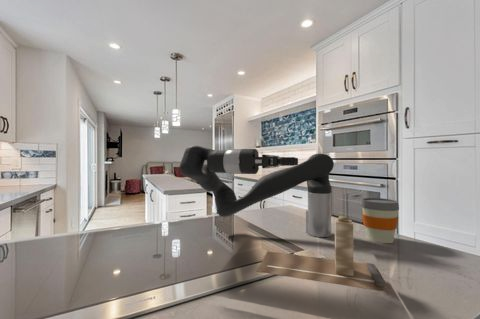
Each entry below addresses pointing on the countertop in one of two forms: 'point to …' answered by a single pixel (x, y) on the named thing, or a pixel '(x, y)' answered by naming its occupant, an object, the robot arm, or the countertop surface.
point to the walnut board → (321, 270)
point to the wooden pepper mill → (344, 246)
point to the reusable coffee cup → (380, 219)
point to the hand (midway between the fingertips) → (296, 161)
